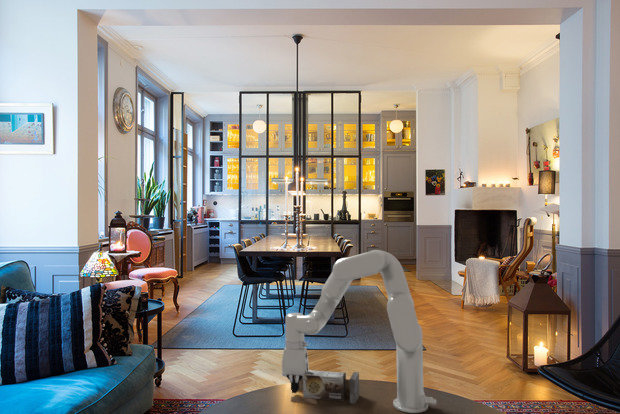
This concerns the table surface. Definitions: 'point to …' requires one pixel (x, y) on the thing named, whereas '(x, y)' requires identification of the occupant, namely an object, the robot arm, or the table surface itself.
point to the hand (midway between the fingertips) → (295, 391)
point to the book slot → (351, 390)
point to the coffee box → (324, 385)
